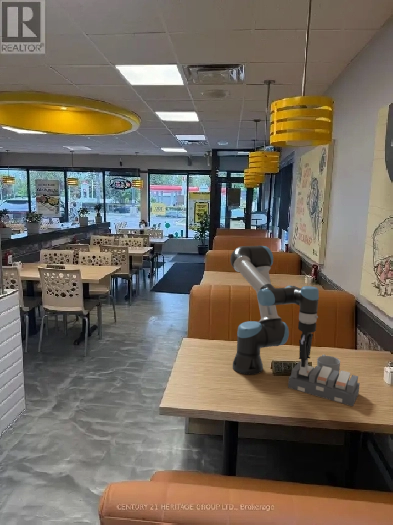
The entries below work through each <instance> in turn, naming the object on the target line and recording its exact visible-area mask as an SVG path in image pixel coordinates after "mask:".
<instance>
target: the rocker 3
mask: <svg viewBox="0 0 393 525" xmlns="http://www.w3.org/2000/svg"><path fill="white" fill-rule="evenodd" d="M350 378H351V372H350V371H346V370H339V377H338V379H337V382H336V384H335V388H339V389H343V390H345V389H346V386H347V383H348V380H350Z"/></svg>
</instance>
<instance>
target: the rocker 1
mask: <svg viewBox="0 0 393 525" xmlns="http://www.w3.org/2000/svg"><path fill="white" fill-rule="evenodd" d="M314 368H315V366H310V365H308V369H307V372H306V374H303V373H300V370H299V374H300V375H304V376H309V374H310V373H311V372H312V371H313V369H314Z"/></svg>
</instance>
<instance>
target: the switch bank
mask: <svg viewBox="0 0 393 525" xmlns="http://www.w3.org/2000/svg"><path fill="white" fill-rule="evenodd" d="M300 364H301V361H298V362H297V364H296V365H295V366H294V367H293V368H292V369H291V374H290V375H289V376H288V385H287V388H288V389H290V390H291V389H292V390H295V391H298V392H301V393H302V392H303V393H305V394H309V395H312V396H316V397H319V398H322V399H326V400H330V401H333V402H336V403H339V404H343V405H345V406H349V407H354V405H355V402H356V401H357V399H358V396H359V393H360V382H358V380H359V376H358V375H354V374H351V376H350V377H349V380H348V383H347V386H346V389H345V390H343V389H339V388H335V384H336V382H337V379H338V377H339V374H340V370H339V371H335V370H334V371H333V372H332V374H331V375H330V376H329V378H328V381H327V384H326V385H324V384H321V383H317V378H318V375H319V373H320V371H321V367H319V366H317V365H316V366H314V369H313V371H312V372H311V373H310V374H309V376H304V375H300V374H299V370H300Z"/></svg>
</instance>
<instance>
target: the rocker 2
mask: <svg viewBox="0 0 393 525" xmlns="http://www.w3.org/2000/svg"><path fill="white" fill-rule="evenodd" d="M331 371H332V368H330V367H325V366H323V367H322V369H321V371H320V373H319V375H318V378H317V383H321V384H324V385H326V384H327V381H328V378H329V376H330V374H331Z"/></svg>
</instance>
